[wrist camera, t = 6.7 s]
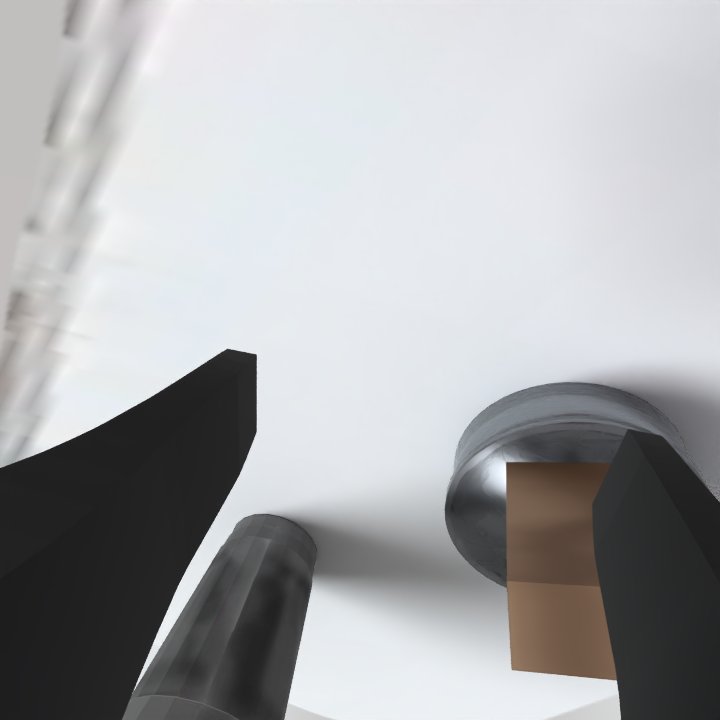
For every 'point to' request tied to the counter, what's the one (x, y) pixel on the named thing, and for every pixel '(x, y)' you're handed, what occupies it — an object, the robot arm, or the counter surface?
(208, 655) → the beverage cup
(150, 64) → the counter surface
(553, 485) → the walnut block
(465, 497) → the grey tin
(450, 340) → the counter surface
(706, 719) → the robot arm
